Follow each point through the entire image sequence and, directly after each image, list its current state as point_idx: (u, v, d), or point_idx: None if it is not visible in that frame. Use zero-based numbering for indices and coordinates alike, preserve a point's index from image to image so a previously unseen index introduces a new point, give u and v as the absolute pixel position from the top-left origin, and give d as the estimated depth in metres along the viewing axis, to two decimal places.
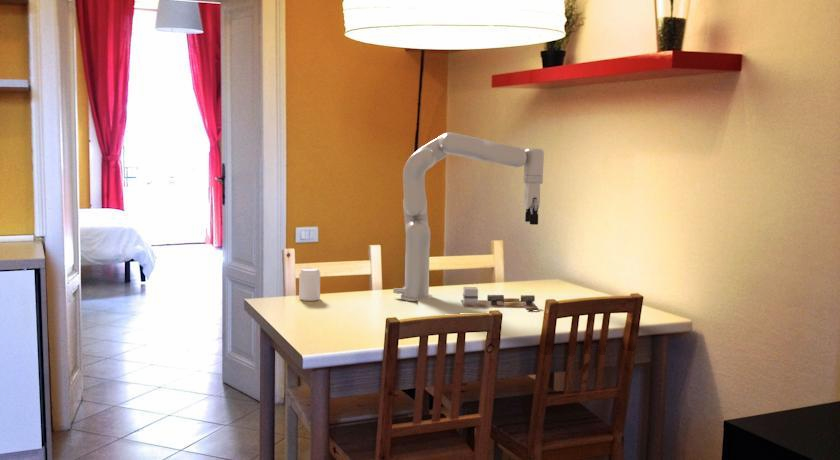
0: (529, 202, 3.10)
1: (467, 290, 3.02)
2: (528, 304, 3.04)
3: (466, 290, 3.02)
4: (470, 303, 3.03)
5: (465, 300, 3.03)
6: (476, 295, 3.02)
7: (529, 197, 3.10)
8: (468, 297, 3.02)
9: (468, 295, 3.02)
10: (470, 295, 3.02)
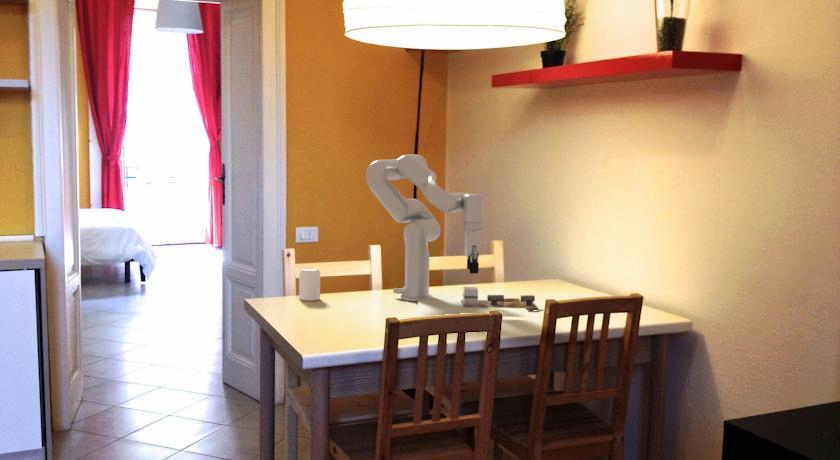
0: (468, 250, 2.98)
1: (467, 290, 3.02)
2: (528, 304, 3.04)
3: (466, 290, 3.02)
4: (470, 303, 3.03)
5: (465, 300, 3.03)
6: (476, 295, 3.02)
7: (468, 245, 2.98)
8: (468, 297, 3.02)
9: (468, 295, 3.02)
10: (470, 295, 3.02)
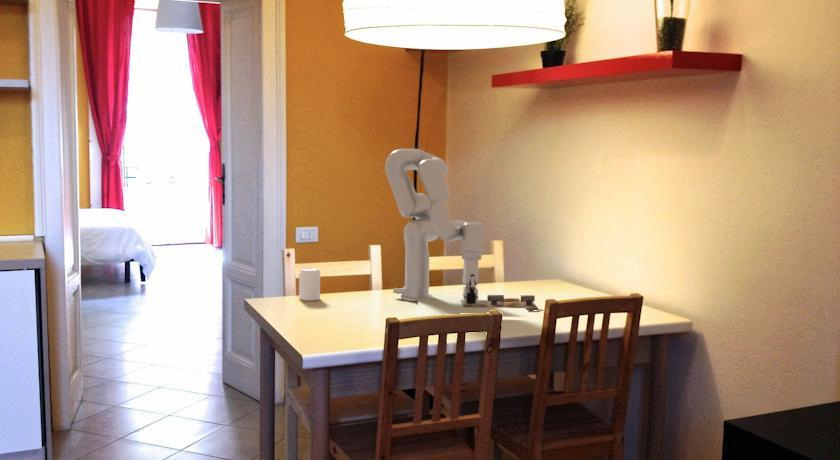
0: (467, 279, 2.99)
1: (467, 290, 3.02)
2: (528, 304, 3.04)
3: (466, 290, 3.02)
4: None
5: (465, 300, 3.03)
6: (476, 295, 3.02)
7: (467, 274, 2.99)
8: None
9: None
10: None
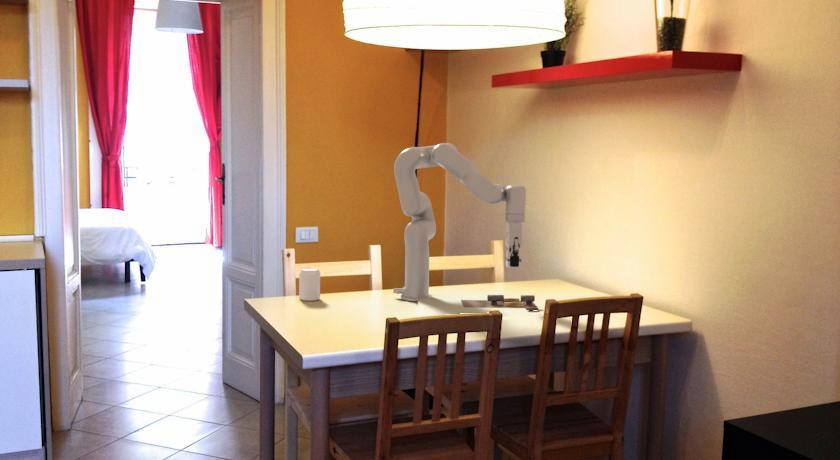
0: (510, 242, 2.98)
1: (510, 253, 3.01)
2: (528, 304, 3.04)
3: (509, 253, 3.01)
4: None
5: (508, 263, 3.02)
6: (519, 258, 3.02)
7: (510, 236, 2.98)
8: None
9: None
10: None
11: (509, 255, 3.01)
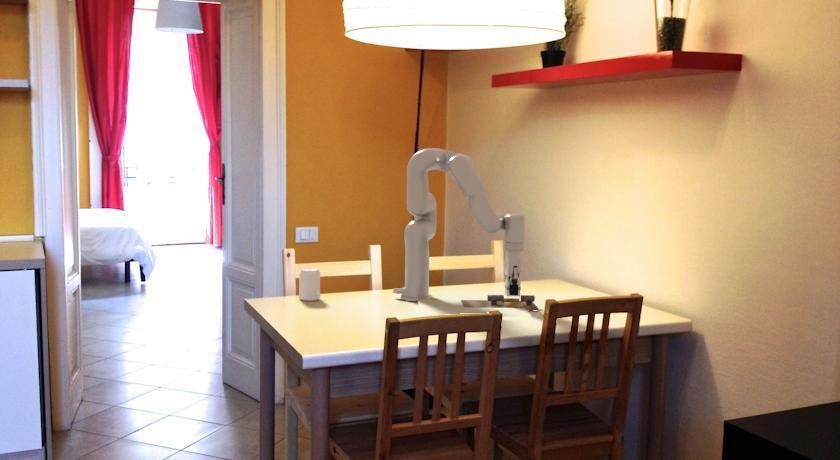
0: (509, 270, 2.99)
1: (510, 281, 3.02)
2: (528, 304, 3.04)
3: (509, 281, 3.02)
4: None
5: (508, 291, 3.03)
6: (519, 286, 3.03)
7: (509, 265, 2.99)
8: None
9: None
10: None
11: (508, 283, 3.03)
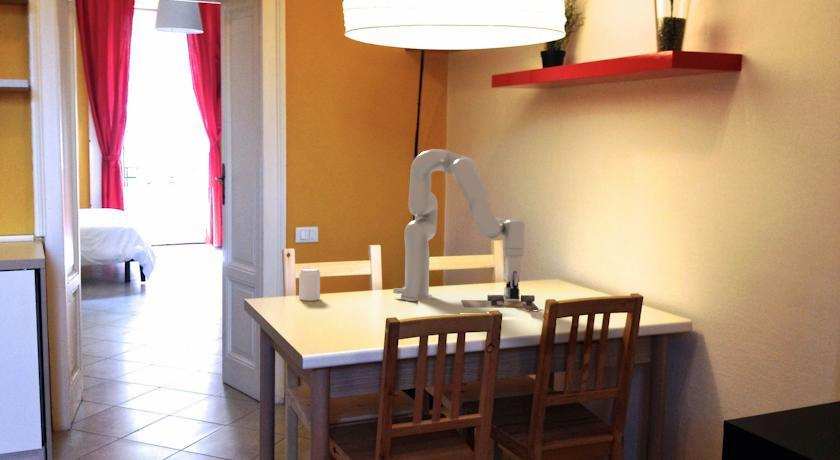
0: (509, 276, 3.00)
1: (509, 291, 3.03)
2: (528, 304, 3.04)
3: (508, 291, 3.03)
4: None
5: (507, 301, 3.03)
6: None
7: (509, 271, 3.00)
8: None
9: None
10: None
11: (507, 293, 3.03)
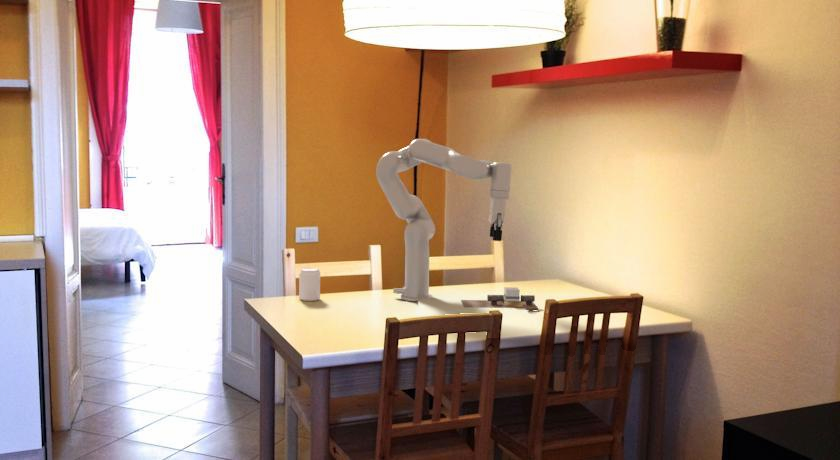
0: (493, 217, 3.01)
1: (509, 291, 3.03)
2: (528, 304, 3.04)
3: (508, 291, 3.03)
4: None
5: (507, 301, 3.03)
6: (518, 296, 3.03)
7: (493, 212, 3.01)
8: (510, 297, 3.03)
9: (510, 296, 3.03)
10: (512, 296, 3.03)
11: (507, 293, 3.03)
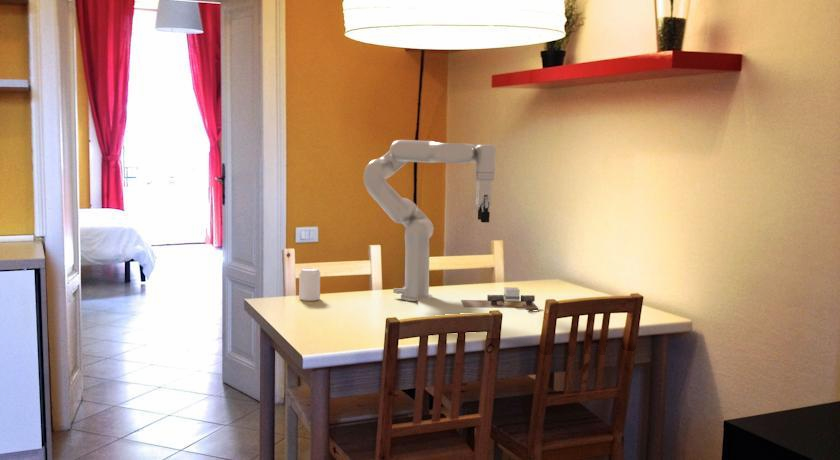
0: (480, 199, 3.03)
1: (509, 291, 3.03)
2: (528, 304, 3.04)
3: (508, 291, 3.03)
4: None
5: (507, 301, 3.03)
6: (518, 296, 3.03)
7: (480, 194, 3.03)
8: (510, 297, 3.03)
9: (510, 296, 3.03)
10: (512, 296, 3.03)
11: (507, 293, 3.03)
